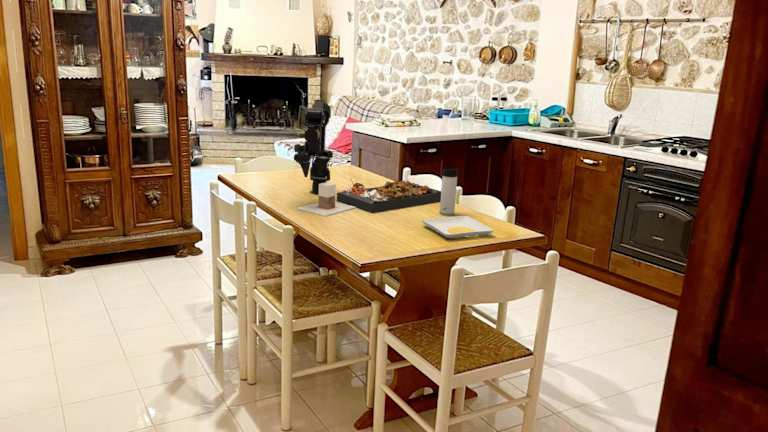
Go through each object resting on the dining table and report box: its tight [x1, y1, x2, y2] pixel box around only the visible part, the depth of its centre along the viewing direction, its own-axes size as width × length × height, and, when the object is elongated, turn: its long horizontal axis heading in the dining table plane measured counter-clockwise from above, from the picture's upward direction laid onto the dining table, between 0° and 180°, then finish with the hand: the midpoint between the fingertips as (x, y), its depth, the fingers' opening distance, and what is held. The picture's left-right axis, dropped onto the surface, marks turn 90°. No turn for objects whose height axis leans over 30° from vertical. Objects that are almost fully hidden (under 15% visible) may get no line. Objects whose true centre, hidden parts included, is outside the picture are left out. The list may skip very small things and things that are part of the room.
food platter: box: [336, 179, 441, 214], centre depth 284 cm, size 45×25×10 cm, turn 131°
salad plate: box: [421, 215, 494, 239], centre depth 241 cm, size 21×21×3 cm
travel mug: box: [439, 168, 459, 216], centre depth 264 cm, size 6×7×20 cm
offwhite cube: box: [318, 181, 337, 198], centre depth 263 cm, size 5×5×5 cm
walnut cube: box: [317, 195, 336, 209], centre depth 264 cm, size 5×5×5 cm
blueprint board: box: [296, 201, 357, 218], centre depth 265 cm, size 20×16×1 cm
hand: (313, 175), depth 266 cm, fingers open, 9 cm apart
